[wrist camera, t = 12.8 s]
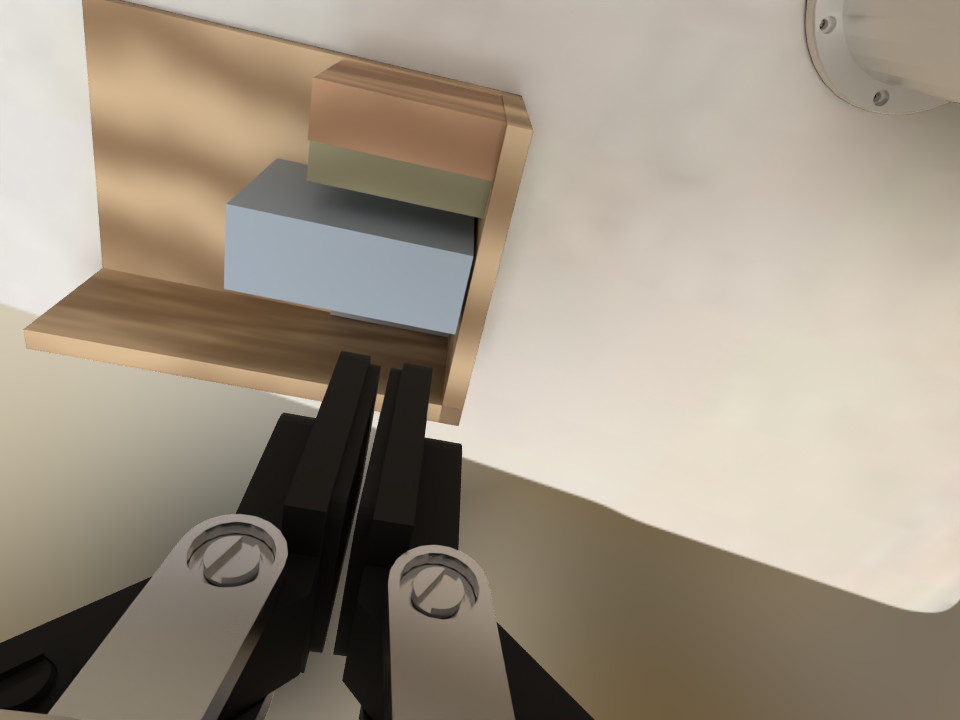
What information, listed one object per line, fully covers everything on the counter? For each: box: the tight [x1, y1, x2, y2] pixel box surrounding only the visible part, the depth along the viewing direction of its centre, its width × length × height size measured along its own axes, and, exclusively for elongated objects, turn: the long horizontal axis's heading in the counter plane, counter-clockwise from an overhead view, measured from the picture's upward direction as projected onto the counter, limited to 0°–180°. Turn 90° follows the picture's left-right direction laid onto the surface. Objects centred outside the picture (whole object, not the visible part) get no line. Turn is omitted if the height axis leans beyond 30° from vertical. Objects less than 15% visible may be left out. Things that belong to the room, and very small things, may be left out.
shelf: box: [24, 0, 533, 426], centre depth 37 cm, size 17×24×10 cm
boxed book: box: [224, 158, 474, 334], centre depth 37 cm, size 4×12×9 cm, turn 77°
